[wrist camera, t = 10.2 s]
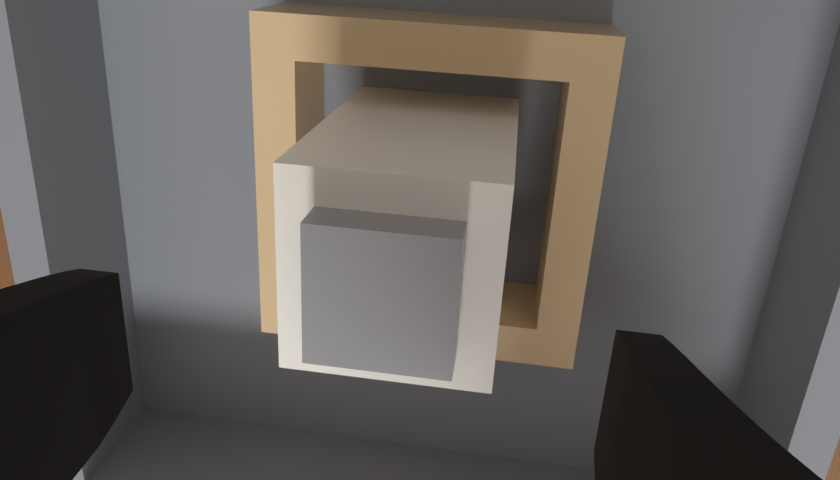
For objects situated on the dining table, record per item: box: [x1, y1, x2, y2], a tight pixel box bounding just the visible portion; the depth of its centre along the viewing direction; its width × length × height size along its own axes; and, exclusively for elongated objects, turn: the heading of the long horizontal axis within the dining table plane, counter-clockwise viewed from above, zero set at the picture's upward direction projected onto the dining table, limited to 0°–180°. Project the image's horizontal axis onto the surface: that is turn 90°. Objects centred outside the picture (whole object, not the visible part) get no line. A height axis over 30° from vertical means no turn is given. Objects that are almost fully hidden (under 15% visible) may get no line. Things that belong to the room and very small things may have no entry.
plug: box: [273, 86, 520, 394], centre depth 15 cm, size 4×4×8 cm
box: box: [0, 0, 840, 480], centre depth 18 cm, size 20×20×4 cm
